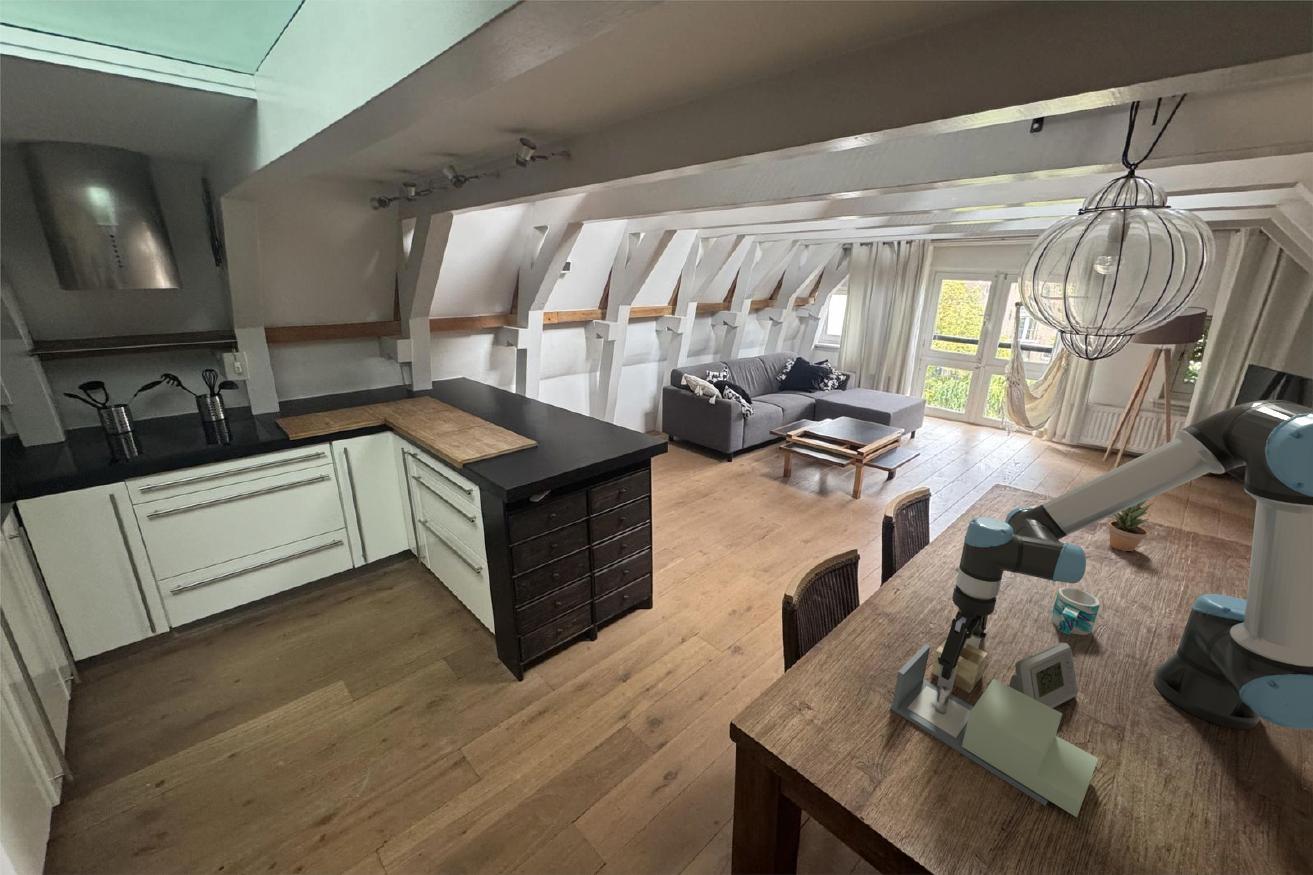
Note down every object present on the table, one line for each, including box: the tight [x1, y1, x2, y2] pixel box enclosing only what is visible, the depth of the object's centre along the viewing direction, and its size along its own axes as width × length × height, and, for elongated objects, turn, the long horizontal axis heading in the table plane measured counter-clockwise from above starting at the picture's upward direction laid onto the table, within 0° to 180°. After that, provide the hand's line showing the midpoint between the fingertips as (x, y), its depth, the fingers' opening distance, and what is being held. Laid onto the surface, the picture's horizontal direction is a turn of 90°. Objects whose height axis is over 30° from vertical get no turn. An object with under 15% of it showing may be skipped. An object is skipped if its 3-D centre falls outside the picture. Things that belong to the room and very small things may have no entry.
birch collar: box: [931, 638, 988, 694], centre depth 111 cm, size 8×8×6 cm
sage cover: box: [962, 678, 1099, 818], centre depth 89 cm, size 17×12×8 cm
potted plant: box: [1107, 500, 1154, 552], centre depth 164 cm, size 10×10×25 cm
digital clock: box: [1008, 642, 1079, 709], centre depth 104 cm, size 16×9×11 cm, turn 102°
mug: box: [1050, 586, 1101, 636], centre depth 126 cm, size 8×12×8 cm
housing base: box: [890, 643, 1049, 807], centre depth 95 cm, size 26×12×9 cm, turn 41°
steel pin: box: [935, 686, 952, 714], centre depth 100 cm, size 2×2×6 cm
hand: (956, 673), depth 112 cm, fingers open, 13 cm apart
